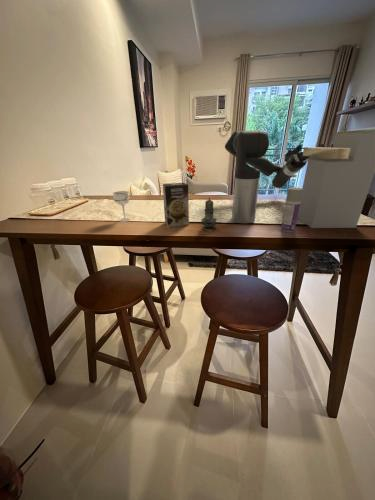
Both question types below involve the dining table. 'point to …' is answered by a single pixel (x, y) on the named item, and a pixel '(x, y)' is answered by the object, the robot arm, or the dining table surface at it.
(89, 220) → the dining table surface
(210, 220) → the grey tall carved piece
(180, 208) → the coffee box
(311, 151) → the wooden bar
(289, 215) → the container
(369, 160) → the stepped stand
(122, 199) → the wineglass
